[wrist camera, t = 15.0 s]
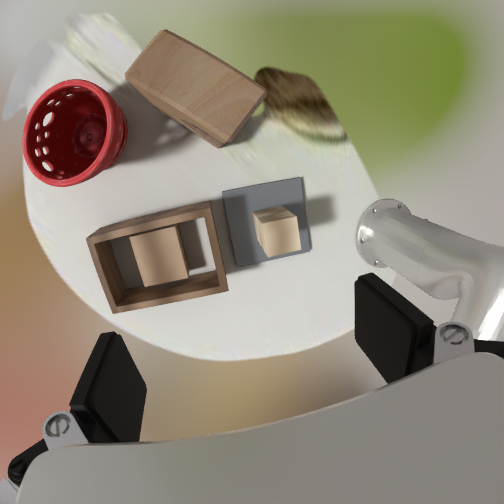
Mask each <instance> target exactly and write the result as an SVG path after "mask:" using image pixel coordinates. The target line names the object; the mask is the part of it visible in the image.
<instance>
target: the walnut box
mask: <svg viewBox="0 0 504 504" xmlns="http://www.w3.org/2000/svg"><path fill="white" fill-rule="evenodd" d="M202 217H204V218H205V222H206V227H207V231H208V236H209V240H210V245H211V249H212V253H213V258H214V262H215V266H216V270H217V271H212V272H207V273H203V274H198V275H193V276H189V267H188V263H187V260H186V256H185V252H184V248H183V244H182V240H181V236H180V232H179V228H178V224H177V223H180V222H184V221H189V220H193V219H198V218H202ZM130 234H132V235H131V236H130V237H129V238H130V241H131V245H132V248H133V251H134V255H135V258H136V261H137V264H138V268H139V271H140V274H141V277H142V280H143V283H144V286H141V287H136V288H131V289H127V290H125V287H124V284H123V281H122V278H121V275H120V272H119V269H118V266H117V263H116V260H115V257H114V254H113V251H112V248H111V244H110V241H109V240H110V239H114V238H118V237H122V236H126V235H130ZM86 240H87V244H88V247H89V250H90V253H91V256H92V259H93V262H94V265H95V268H96V271H97V274H98V276H99V279H100V282H101V285H102V287H103V290H104V293H105V295H106V298H107V300H108V303H109V305H110V308H111V310H112V313H113V314H115V313H121V312H126V311H131V310H137V309H142V308H147V307H153V306H158V305H163V304H168V303H173V302H178V301H183V300H188V299H193V298H198V297H202V296H207V295H212V294H217V293H221V292H226V291H229V290H228V284H227V278H226V273H225V269H224V264H223V260H222V255H221V251H220V246H219V242H218V237H217V232H216V228H215V223H214V218H213V214H212V209H211V204H210V201H208V202H203V203H198V204H194V205H190V206H185V207H181V208H176V209H172V210H168V211H164V212H160V213H156V214H151V215H147V216H143V217H140V218H136V219H132V220H128V221H124V222H120V223H117V224H113V225H109V226H106V227H102V228H99V229H98V230H97V231H95V232H94V233H93V234H91V235H90V236H89V237H87V238H86Z"/></svg>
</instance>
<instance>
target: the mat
mask: <svg viewBox="0 0 504 504" xmlns="http://www.w3.org/2000/svg"><path fill="white" fill-rule="evenodd" d="M222 195H223V200H224V205H225V210H226V215H227V220H228V225H229V230H230V235H231V240H232V245H233V250H234V255H235V259H236V264H237V267H242V266H246V265H251V264H256V263H260V262H265V261H269V260H274V259H278V258H283V257H287V256H292V255H296V254H301V253H305V252H310V247H309V238H308V229H307V221H306V213H305V205H304V198H303V191H302V184H301V178H300V177H299V178H293V179H287V180H281V181H275V182H270V183H264V184H259V185H253V186H248V187H243V188H238V189H233V190H228V191H223V192H222ZM278 206H282V207H284V208H285V209H287V210H288V211H290V212H291V213H292V214H294V215H295V216H297V222H298V229H299V236H300V244H301V250H298V251H294V252H289V253H285V254H281V255H276V256H272V257H267V255H266V253H265V252H264V250H263V248H262V247H261V245H260V243H259V242H258V240H257V235H256V229H255V224H254V219H253V213H252V212H253V211H258V210H263V209H268V208H273V207H278Z"/></svg>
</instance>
